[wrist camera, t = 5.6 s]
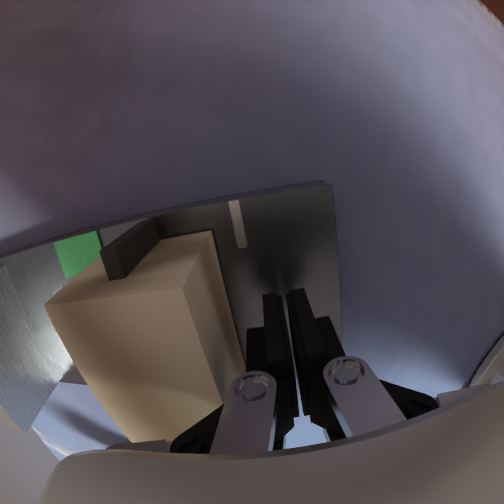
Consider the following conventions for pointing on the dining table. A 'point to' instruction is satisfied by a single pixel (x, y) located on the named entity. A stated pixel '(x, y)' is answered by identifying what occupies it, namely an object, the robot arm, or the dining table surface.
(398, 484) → the robot arm
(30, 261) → the gauge rail
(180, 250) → the block
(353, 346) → the dining table surface
